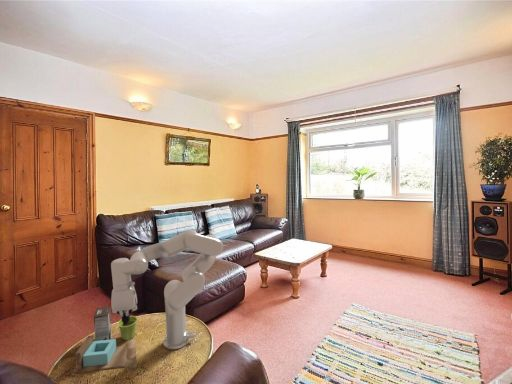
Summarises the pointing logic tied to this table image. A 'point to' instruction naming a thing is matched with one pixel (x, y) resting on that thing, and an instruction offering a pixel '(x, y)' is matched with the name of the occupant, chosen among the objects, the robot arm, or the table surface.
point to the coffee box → (102, 324)
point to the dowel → (131, 355)
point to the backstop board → (115, 362)
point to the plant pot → (128, 328)
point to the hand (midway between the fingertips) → (126, 322)
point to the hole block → (99, 352)
